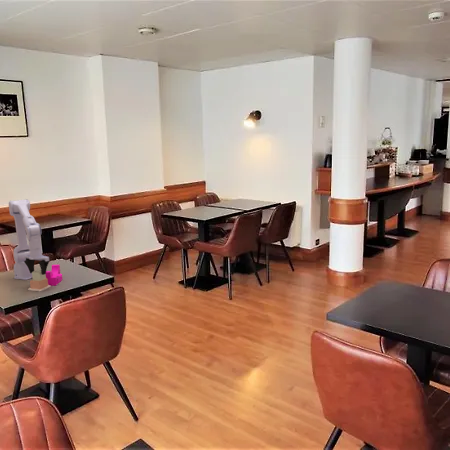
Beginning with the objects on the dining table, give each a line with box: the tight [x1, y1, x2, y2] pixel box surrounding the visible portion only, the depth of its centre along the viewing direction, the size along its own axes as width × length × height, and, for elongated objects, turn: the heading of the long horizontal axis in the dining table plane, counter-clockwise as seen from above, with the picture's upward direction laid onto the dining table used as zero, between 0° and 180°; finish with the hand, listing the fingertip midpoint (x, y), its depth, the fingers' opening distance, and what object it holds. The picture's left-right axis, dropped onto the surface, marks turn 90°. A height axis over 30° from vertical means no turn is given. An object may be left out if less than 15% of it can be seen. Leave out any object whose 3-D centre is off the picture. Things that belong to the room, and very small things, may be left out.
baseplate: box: [27, 285, 52, 292], centre depth 237 cm, size 8×8×1 cm
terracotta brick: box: [29, 278, 48, 289], centre depth 237 cm, size 6×6×4 cm
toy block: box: [46, 264, 63, 287], centre depth 248 cm, size 15×6×8 cm, turn 1°
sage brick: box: [32, 269, 46, 281], centre depth 236 cm, size 4×4×4 cm
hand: (38, 273), depth 236 cm, fingers open, 7 cm apart
